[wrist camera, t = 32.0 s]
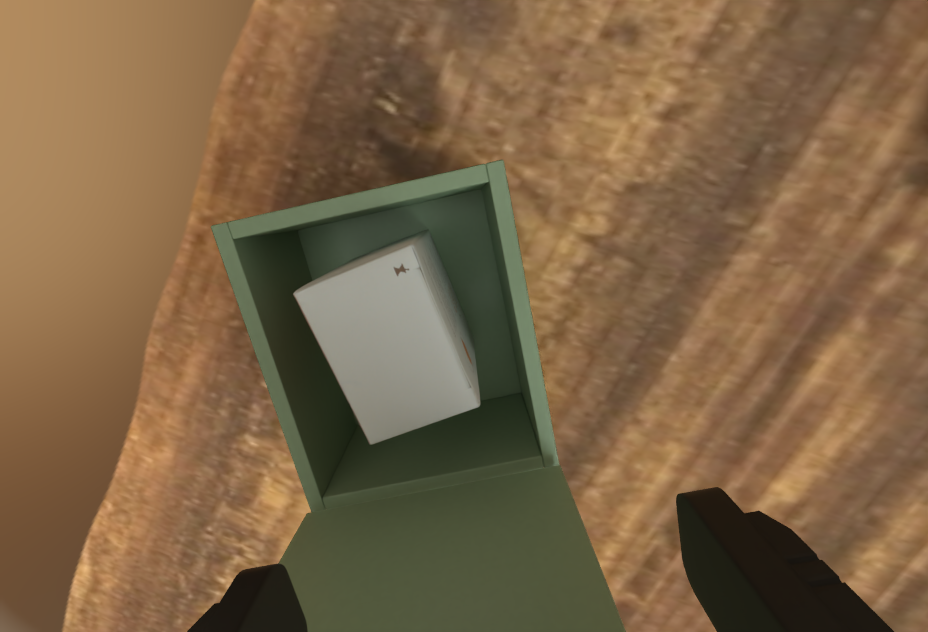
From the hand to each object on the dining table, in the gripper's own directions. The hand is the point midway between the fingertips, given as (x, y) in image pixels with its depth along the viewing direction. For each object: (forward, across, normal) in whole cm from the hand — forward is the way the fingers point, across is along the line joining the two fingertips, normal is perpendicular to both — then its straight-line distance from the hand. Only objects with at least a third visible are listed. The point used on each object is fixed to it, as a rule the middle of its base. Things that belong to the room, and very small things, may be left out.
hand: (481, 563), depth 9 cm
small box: (+21, +4, -2) cm, 21 cm away
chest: (+22, +4, -1) cm, 22 cm away
